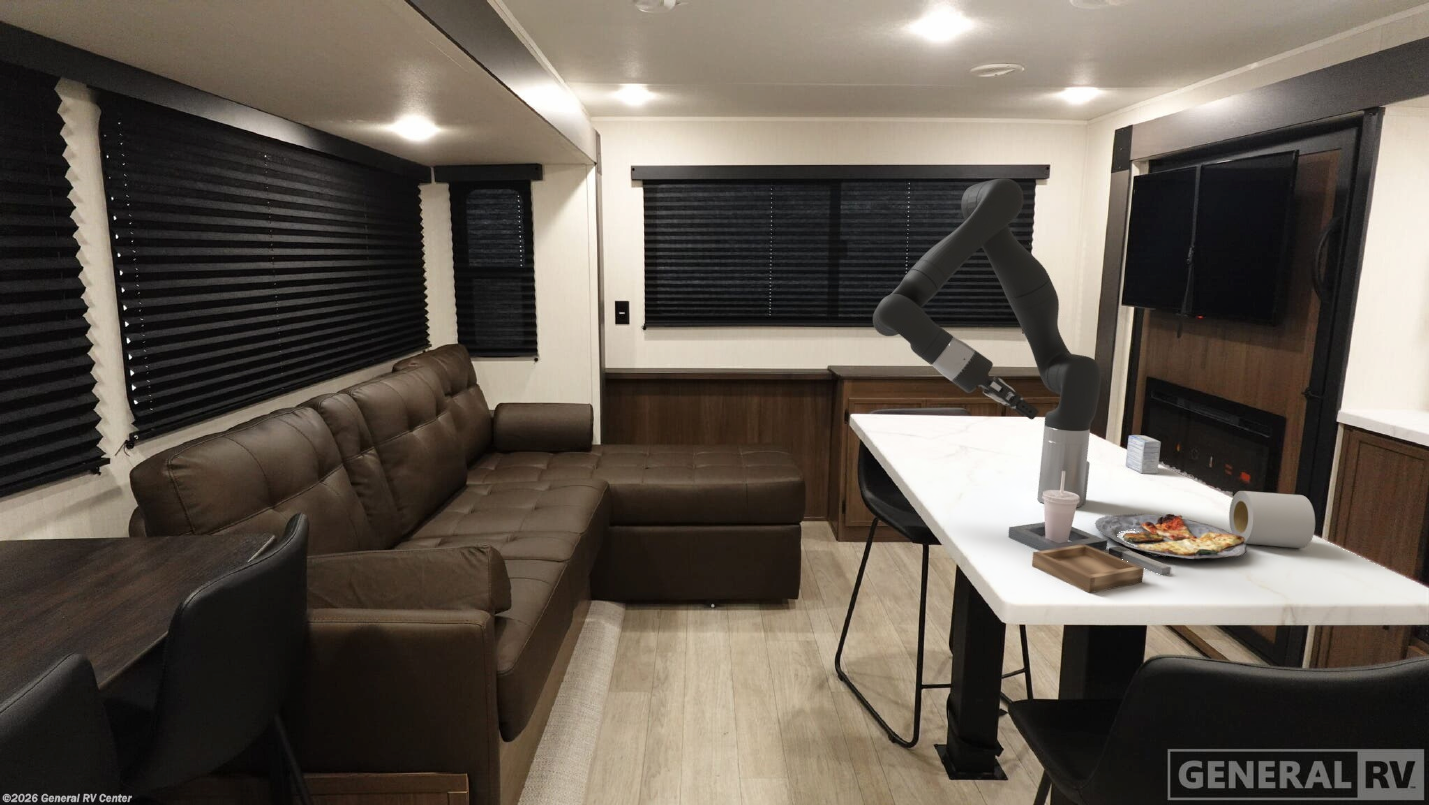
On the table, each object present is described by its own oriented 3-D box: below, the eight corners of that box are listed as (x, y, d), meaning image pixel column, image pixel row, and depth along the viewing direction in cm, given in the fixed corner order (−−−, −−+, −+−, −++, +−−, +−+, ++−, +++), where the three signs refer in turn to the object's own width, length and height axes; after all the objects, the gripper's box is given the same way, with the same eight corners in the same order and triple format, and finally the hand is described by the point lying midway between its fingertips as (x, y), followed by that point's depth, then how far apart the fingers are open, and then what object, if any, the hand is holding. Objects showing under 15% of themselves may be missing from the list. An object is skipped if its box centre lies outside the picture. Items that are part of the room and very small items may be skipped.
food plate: (1179, 520, 159) (1180, 504, 158) (1277, 563, 136) (1280, 544, 136) (1070, 528, 155) (1071, 511, 154) (1153, 574, 132) (1156, 555, 132)
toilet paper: (1283, 538, 150) (1291, 489, 148) (1310, 556, 140) (1318, 503, 138) (1226, 533, 152) (1233, 484, 150) (1248, 550, 142) (1256, 499, 141)
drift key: (1108, 555, 139) (1108, 547, 139) (1119, 553, 140) (1120, 545, 140) (1160, 576, 129) (1161, 568, 129) (1171, 574, 130) (1172, 566, 130)
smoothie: (1077, 542, 145) (1084, 471, 143) (1072, 552, 140) (1079, 478, 137) (1041, 535, 148) (1047, 465, 146) (1035, 545, 143) (1041, 473, 141)
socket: (1055, 530, 152) (1056, 520, 151) (1106, 550, 141) (1107, 540, 140) (1008, 537, 147) (1009, 527, 147) (1057, 558, 136) (1058, 548, 136)
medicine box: (1157, 474, 197) (1161, 441, 195) (1140, 474, 197) (1144, 441, 195) (1141, 466, 204) (1145, 435, 203) (1124, 466, 205) (1128, 434, 203)
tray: (1082, 557, 137) (1084, 544, 137) (1142, 582, 126) (1143, 568, 126) (1031, 566, 133) (1033, 552, 132) (1088, 592, 122) (1090, 578, 121)
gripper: (978, 348, 142) (1052, 400, 140) (969, 349, 156) (1035, 396, 154) (953, 381, 143) (1025, 433, 141) (946, 378, 157) (1012, 426, 155)
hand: (1031, 414), depth 147 cm, fingers open, 8 cm apart
